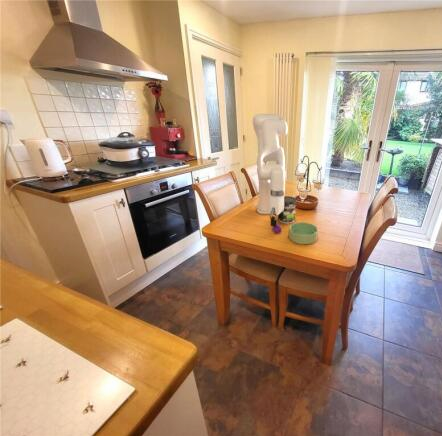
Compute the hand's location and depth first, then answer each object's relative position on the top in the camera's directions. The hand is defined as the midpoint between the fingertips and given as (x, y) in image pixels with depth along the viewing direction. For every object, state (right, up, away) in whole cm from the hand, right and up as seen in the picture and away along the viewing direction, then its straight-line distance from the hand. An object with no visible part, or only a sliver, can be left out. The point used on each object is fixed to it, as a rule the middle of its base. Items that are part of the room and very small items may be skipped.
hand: (277, 222), depth 128 cm
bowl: (+14, -8, 0) cm, 16 cm away
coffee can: (+5, +1, +19) cm, 20 cm away
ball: (0, -4, +2) cm, 4 cm away
